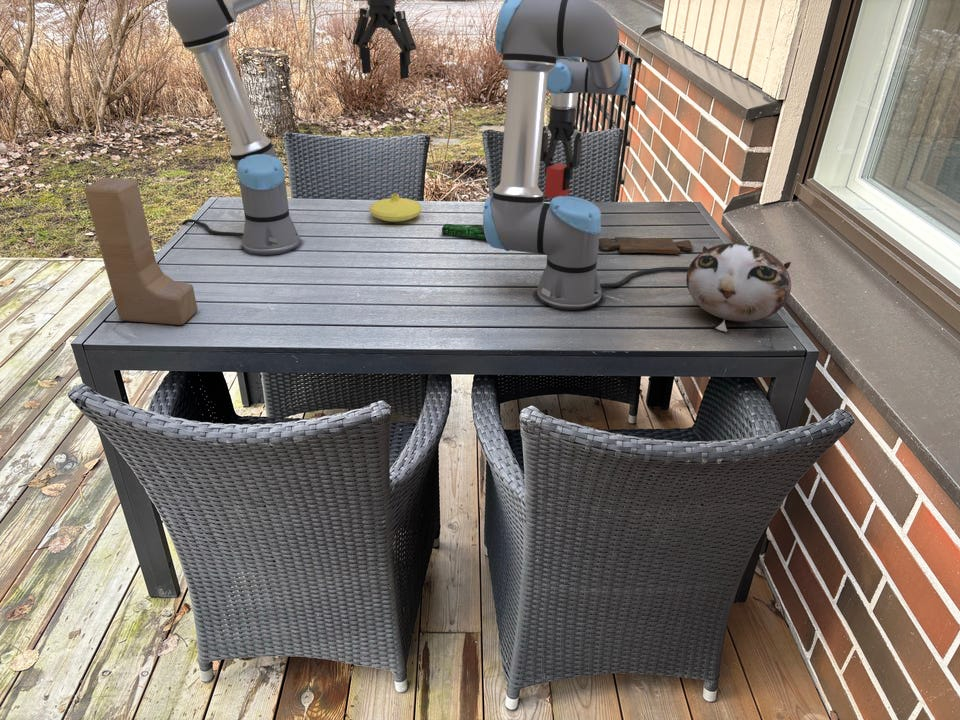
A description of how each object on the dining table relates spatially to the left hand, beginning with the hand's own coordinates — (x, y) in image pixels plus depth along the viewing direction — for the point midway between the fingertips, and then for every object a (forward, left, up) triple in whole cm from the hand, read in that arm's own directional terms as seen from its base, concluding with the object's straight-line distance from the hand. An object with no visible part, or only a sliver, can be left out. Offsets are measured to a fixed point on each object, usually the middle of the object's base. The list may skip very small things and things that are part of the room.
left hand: (385, 75), depth 197 cm
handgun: (+28, +4, -41) cm, 50 cm away
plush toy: (+105, -8, -41) cm, 113 cm away
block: (+41, +28, -34) cm, 60 cm away
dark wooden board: (+73, +21, -41) cm, 86 cm away
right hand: (+41, +29, -31) cm, 59 cm away
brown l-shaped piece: (-1, -81, -41) cm, 91 cm away
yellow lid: (+1, 0, -41) cm, 41 cm away
